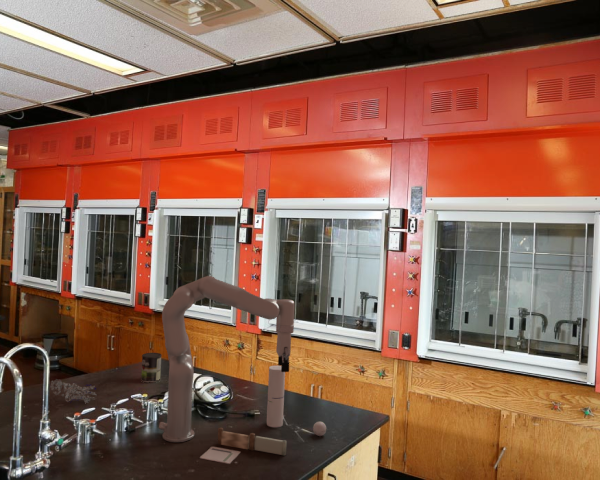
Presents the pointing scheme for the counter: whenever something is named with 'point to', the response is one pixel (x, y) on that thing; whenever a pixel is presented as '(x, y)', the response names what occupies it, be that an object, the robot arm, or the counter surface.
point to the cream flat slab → (270, 445)
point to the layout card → (220, 455)
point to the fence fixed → (236, 439)
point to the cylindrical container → (275, 396)
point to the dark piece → (73, 391)
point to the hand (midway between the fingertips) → (283, 368)
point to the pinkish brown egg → (319, 428)
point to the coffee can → (151, 366)
